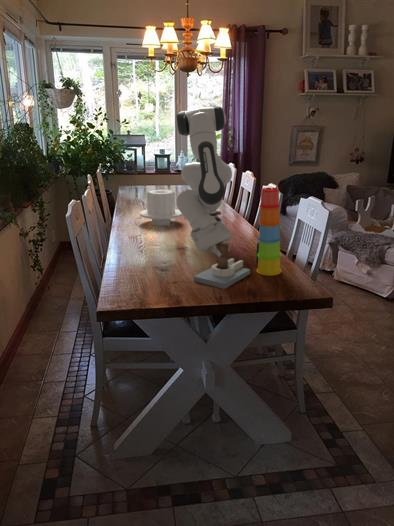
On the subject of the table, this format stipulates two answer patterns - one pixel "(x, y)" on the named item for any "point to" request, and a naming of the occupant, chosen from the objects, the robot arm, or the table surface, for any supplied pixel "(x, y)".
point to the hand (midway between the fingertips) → (224, 254)
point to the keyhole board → (221, 280)
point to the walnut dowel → (223, 258)
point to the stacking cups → (269, 233)
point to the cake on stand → (160, 207)
